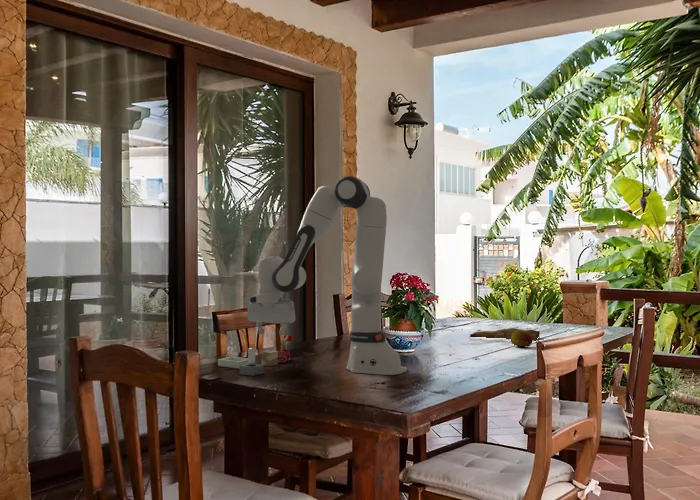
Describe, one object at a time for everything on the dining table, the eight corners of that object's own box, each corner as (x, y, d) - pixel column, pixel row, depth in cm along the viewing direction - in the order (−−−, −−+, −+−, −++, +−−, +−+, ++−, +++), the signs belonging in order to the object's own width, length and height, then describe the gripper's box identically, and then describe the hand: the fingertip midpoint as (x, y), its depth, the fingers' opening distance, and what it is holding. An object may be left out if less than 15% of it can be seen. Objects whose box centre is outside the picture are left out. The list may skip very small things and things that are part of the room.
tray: (252, 365, 266) (252, 358, 266) (239, 368, 258) (239, 361, 258) (231, 363, 270) (231, 356, 270) (217, 366, 263) (217, 359, 263)
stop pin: (256, 373, 249) (256, 348, 249) (252, 374, 247) (252, 349, 247) (250, 372, 250) (251, 347, 250) (246, 374, 248) (247, 348, 248)
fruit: (534, 347, 323) (535, 330, 323) (528, 349, 316) (528, 331, 316) (514, 345, 329) (514, 328, 329) (508, 347, 321) (508, 330, 321)
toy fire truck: (275, 363, 271) (275, 338, 271) (285, 357, 285) (285, 334, 285) (283, 363, 271) (283, 338, 271) (293, 358, 284) (293, 334, 284)
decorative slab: (541, 339, 356) (541, 329, 356) (535, 344, 336) (535, 334, 336) (477, 335, 368) (477, 325, 368) (468, 340, 348) (468, 330, 348)
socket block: (263, 373, 250) (263, 364, 250) (253, 375, 244) (253, 367, 244) (249, 371, 253) (249, 363, 253) (239, 374, 247) (239, 365, 247)
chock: (277, 364, 270) (277, 351, 270) (269, 366, 265) (270, 352, 265) (269, 363, 272) (269, 350, 271) (261, 365, 267) (261, 352, 267)
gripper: (298, 297, 266) (299, 334, 266) (254, 297, 276) (255, 332, 276) (288, 299, 260) (289, 336, 261) (244, 298, 270) (245, 334, 270)
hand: (271, 334), depth 268 cm, fingers open, 8 cm apart
